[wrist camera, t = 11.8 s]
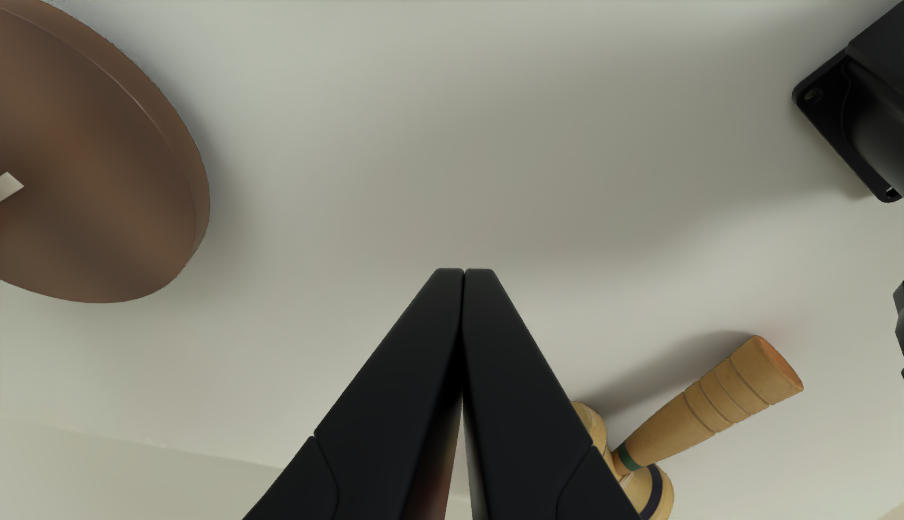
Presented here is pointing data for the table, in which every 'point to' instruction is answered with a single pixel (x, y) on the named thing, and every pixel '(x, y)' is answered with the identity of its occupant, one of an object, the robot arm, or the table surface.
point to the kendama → (692, 421)
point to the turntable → (90, 165)
